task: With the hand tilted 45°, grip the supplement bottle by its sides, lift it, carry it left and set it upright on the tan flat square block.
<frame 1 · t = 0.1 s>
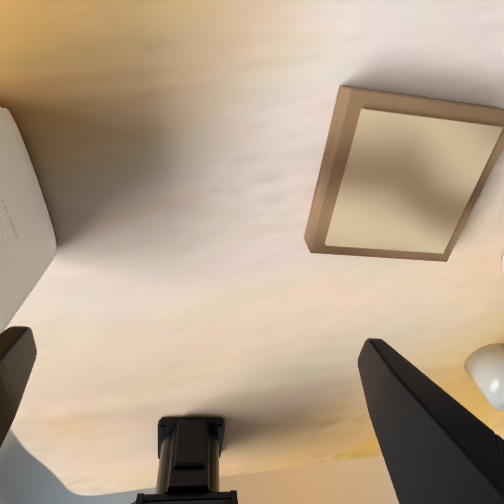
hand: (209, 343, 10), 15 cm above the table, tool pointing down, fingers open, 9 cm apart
photo printer: (11, 186, 22), on the table
tan flat square block: (392, 177, 23), on the table
white rounded knob: (486, 359, 34), on the table
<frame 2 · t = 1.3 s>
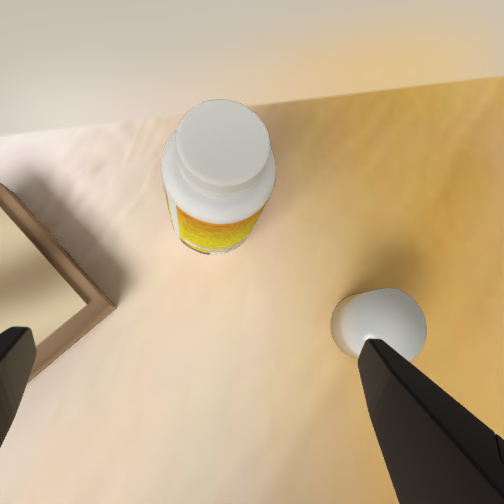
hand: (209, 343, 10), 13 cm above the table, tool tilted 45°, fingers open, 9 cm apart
supplement bottle: (211, 218, 25), on the table
white rounded knob: (360, 326, 24), on the table
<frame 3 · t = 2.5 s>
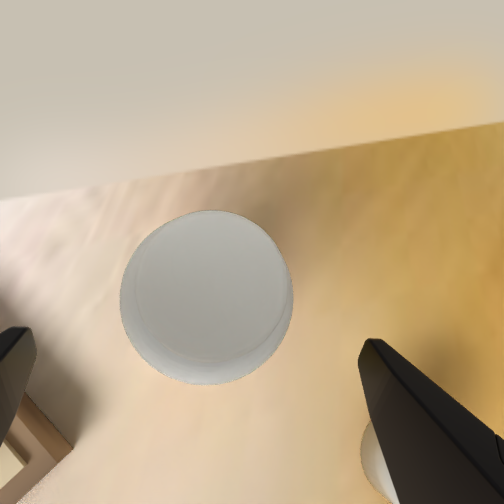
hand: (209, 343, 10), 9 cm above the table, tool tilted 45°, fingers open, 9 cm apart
supplement bottle: (203, 312, 19), on the table
white rounded knob: (399, 453, 19), on the table
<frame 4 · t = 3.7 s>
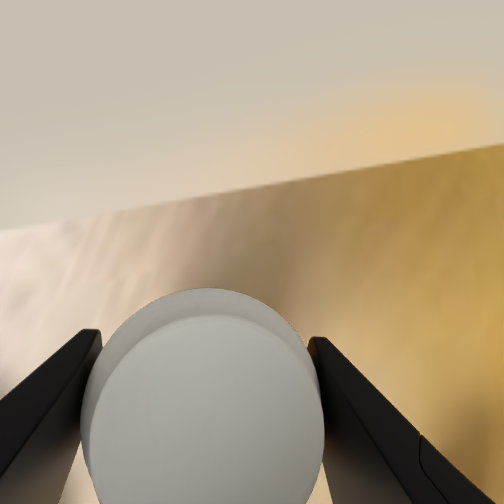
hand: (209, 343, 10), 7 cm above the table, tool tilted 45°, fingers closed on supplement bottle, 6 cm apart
supplement bottle: (200, 372, 16), on the table, touching gripper
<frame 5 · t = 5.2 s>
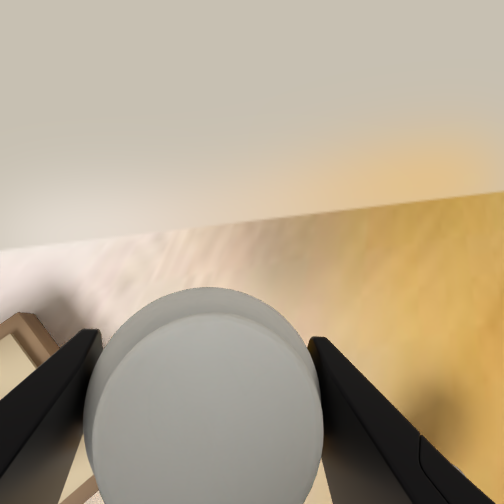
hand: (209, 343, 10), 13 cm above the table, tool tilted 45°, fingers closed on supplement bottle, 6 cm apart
supplement bottle: (202, 371, 16), point 6 cm above the table, touching gripper
tan flat square block: (3, 443, 19), on the table
when the fingers open (9 cm above the table, at t = 6.9 s): supplement bottle stays where it is, resting on tan flat square block.
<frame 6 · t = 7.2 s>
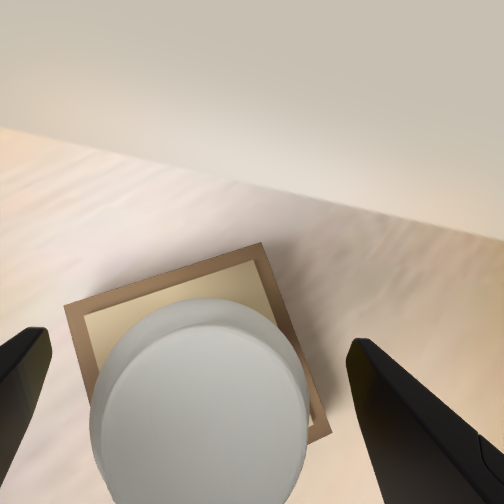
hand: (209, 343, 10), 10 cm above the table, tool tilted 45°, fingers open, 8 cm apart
supplement bottle: (200, 374, 17), point 2 cm above the table, touching tan flat square block
tan flat square block: (199, 366, 19), on the table
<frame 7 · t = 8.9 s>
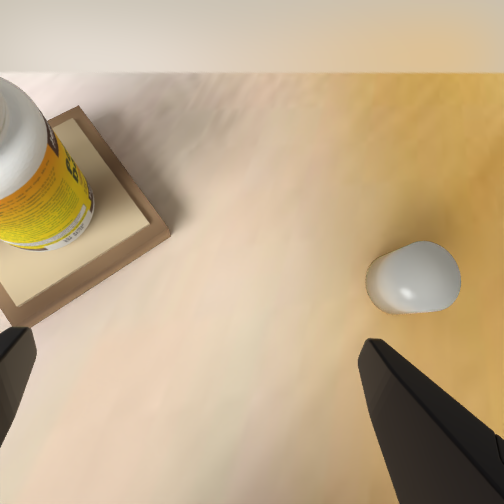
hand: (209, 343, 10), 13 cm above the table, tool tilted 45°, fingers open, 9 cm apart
supplement bottle: (48, 209, 21), point 2 cm above the table, touching tan flat square block
tan flat square block: (60, 217, 23), on the table
white rounded knob: (393, 284, 26), on the table
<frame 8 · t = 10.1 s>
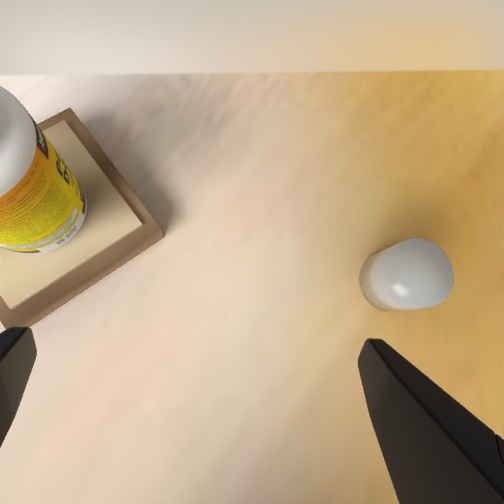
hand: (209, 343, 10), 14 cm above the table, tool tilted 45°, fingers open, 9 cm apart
supplement bottle: (40, 211, 21), point 2 cm above the table, touching tan flat square block
tan flat square block: (53, 220, 23), on the table
white rounded knob: (387, 281, 26), on the table
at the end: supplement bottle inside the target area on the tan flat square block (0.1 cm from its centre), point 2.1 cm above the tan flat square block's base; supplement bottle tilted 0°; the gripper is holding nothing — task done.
